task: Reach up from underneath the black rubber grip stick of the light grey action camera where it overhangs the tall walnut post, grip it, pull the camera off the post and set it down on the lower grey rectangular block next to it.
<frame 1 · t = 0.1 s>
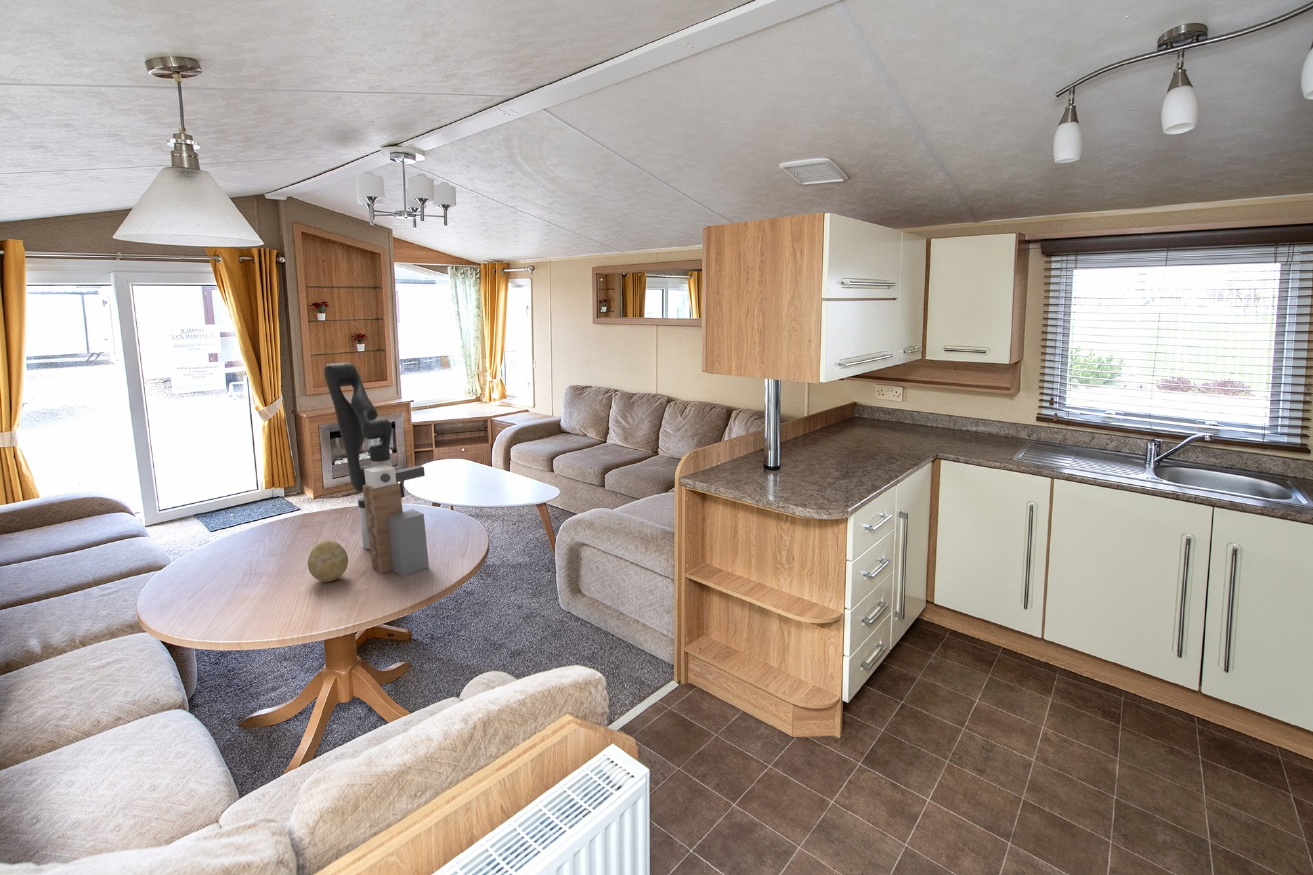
hand: (387, 511, 244), 17 cm above the table, fingers open, 8 cm apart
action camera: (381, 484, 228), point 32 cm above the table, touching walnut post
grey rectangular block: (410, 568, 233), on the table
fossilized egg: (330, 580, 224), on the table
walnut post: (390, 566, 235), on the table
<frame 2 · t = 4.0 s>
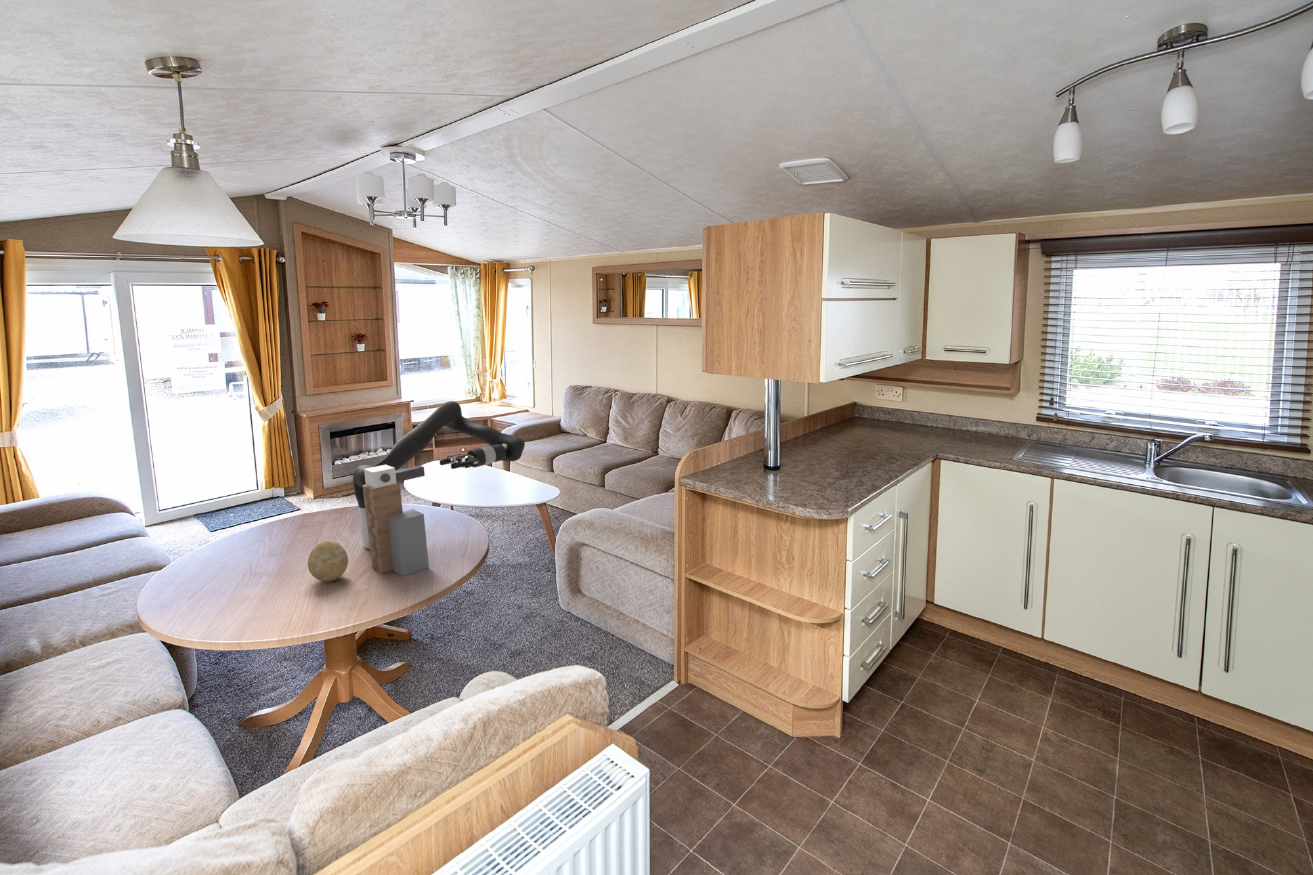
hand: (445, 464, 247), 34 cm above the table, fingers open, 8 cm apart
nothing on the table moved.
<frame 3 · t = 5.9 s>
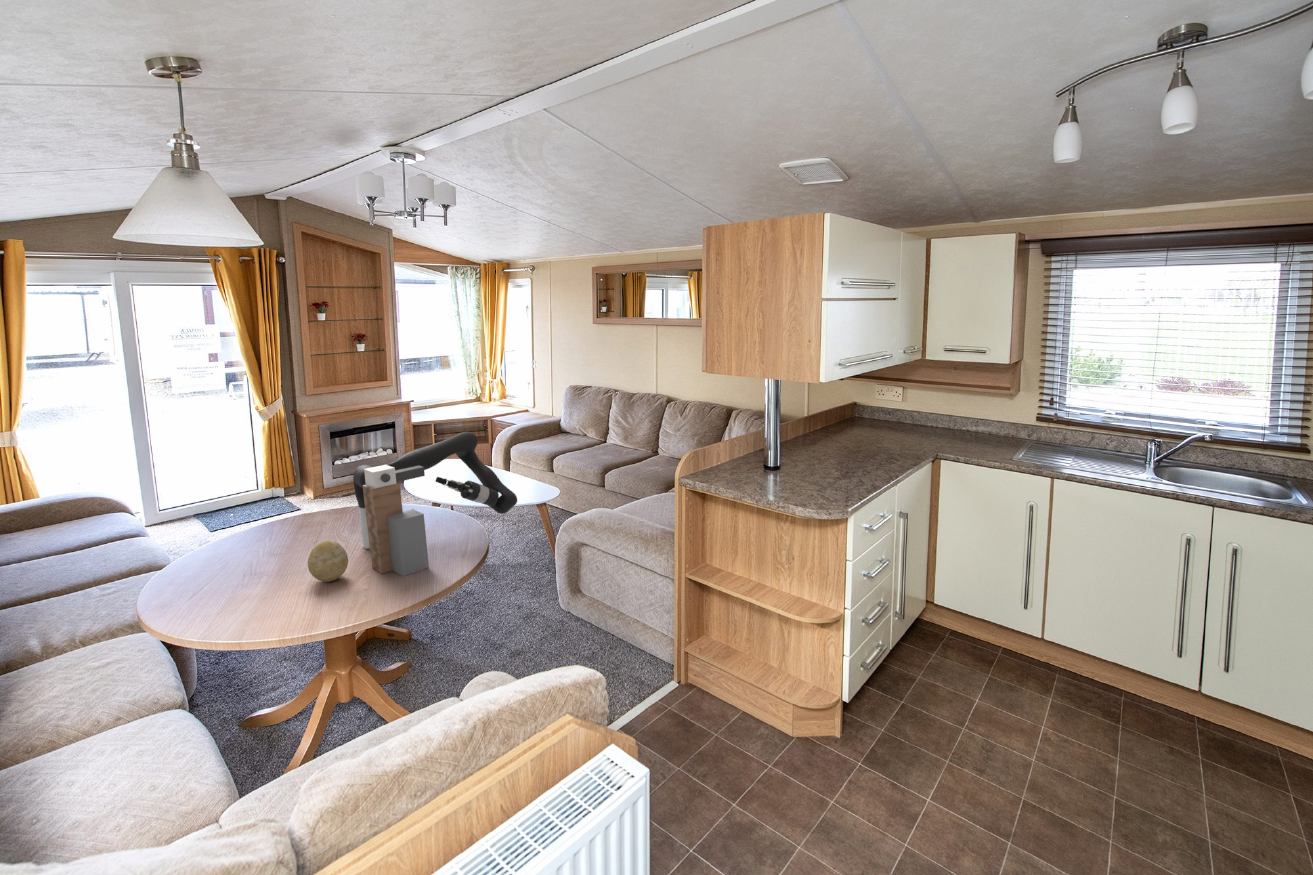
hand: (442, 481, 247), 28 cm above the table, fingers open, 8 cm apart
nothing on the table moved.
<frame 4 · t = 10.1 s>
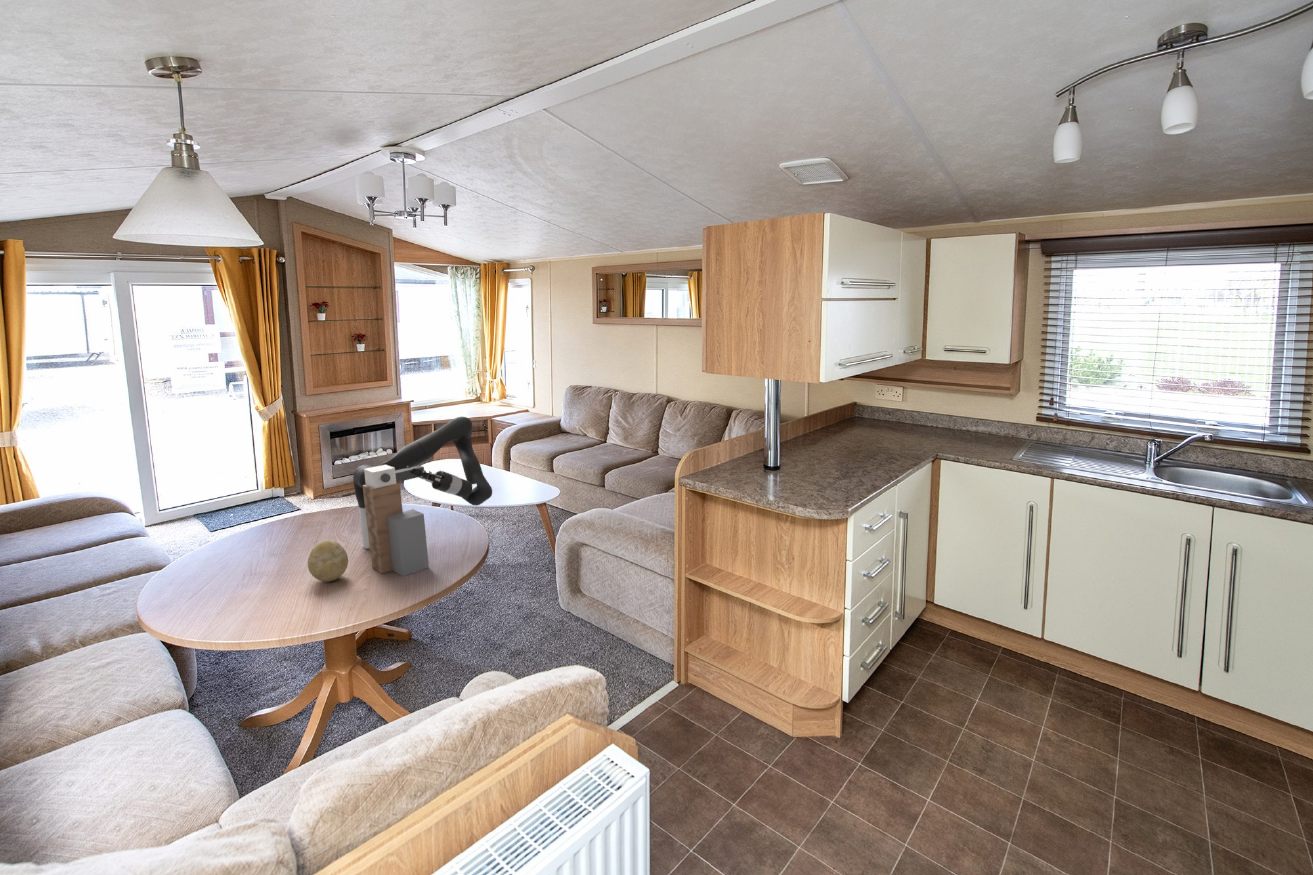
hand: (409, 469, 236), 35 cm above the table, fingers closed on action camera, 3 cm apart
action camera: (381, 484, 228), point 32 cm above the table, touching gripper, walnut post
everything else where it was.
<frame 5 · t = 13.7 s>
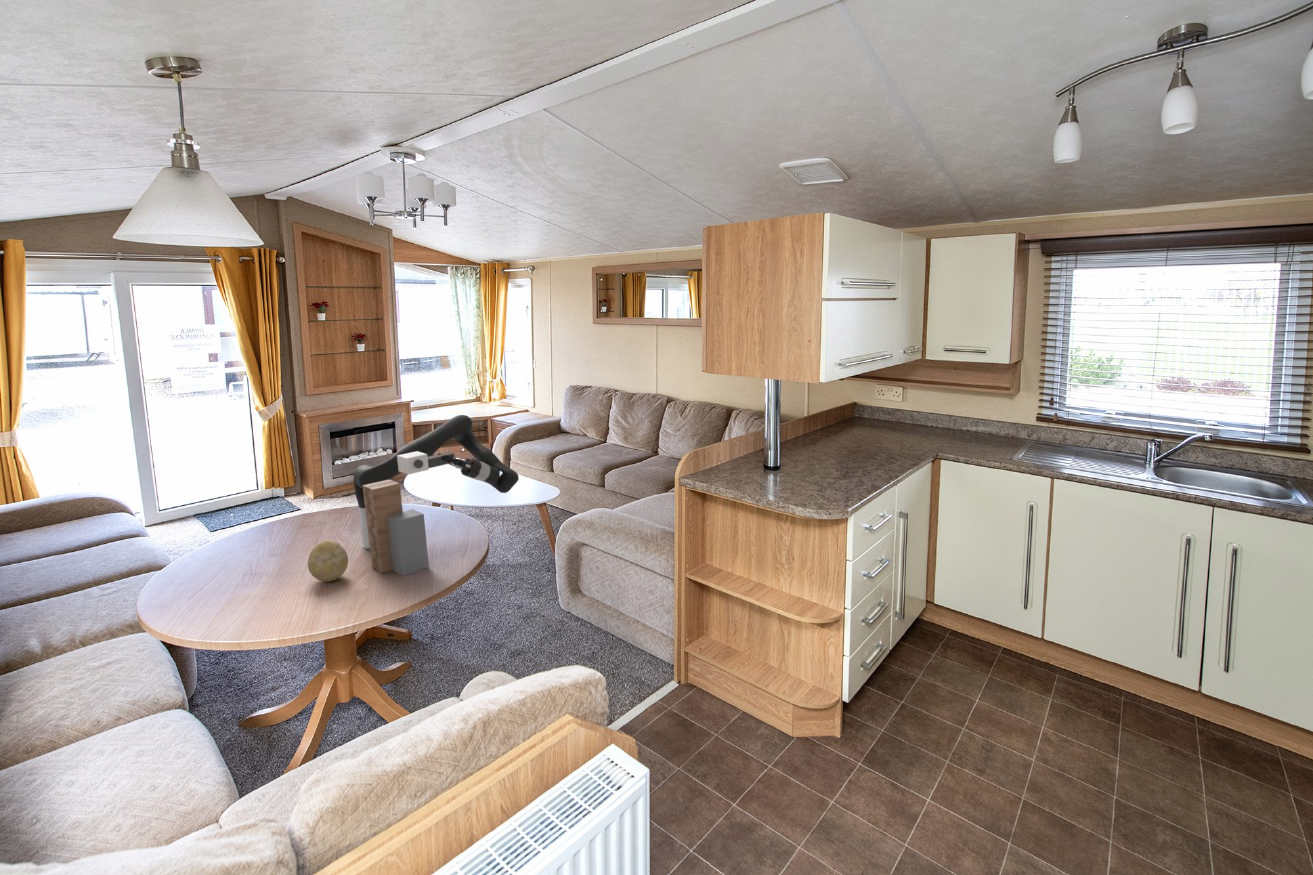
hand: (440, 456, 239), 39 cm above the table, fingers closed on action camera, 3 cm apart
action camera: (413, 470, 232), point 36 cm above the table, touching gripper
everything else where it was.
when the fingers open (25 cm above the table, at t = 17.5 s): action camera drops 1 cm, resting on grey rectangular block.
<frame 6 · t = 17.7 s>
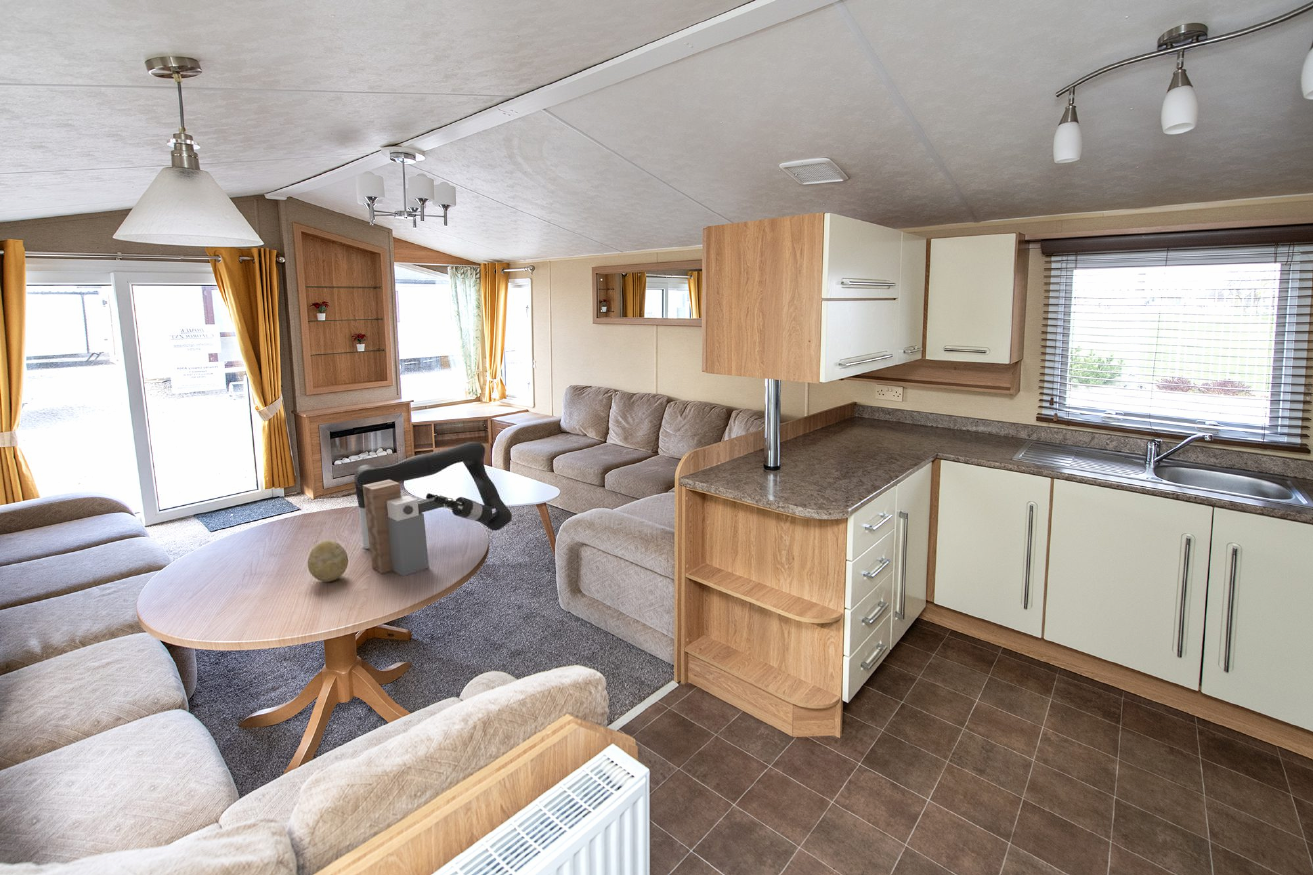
hand: (431, 497, 235), 25 cm above the table, fingers open, 5 cm apart
action camera: (403, 515, 227), point 21 cm above the table, touching grey rectangular block
everything else where it was.
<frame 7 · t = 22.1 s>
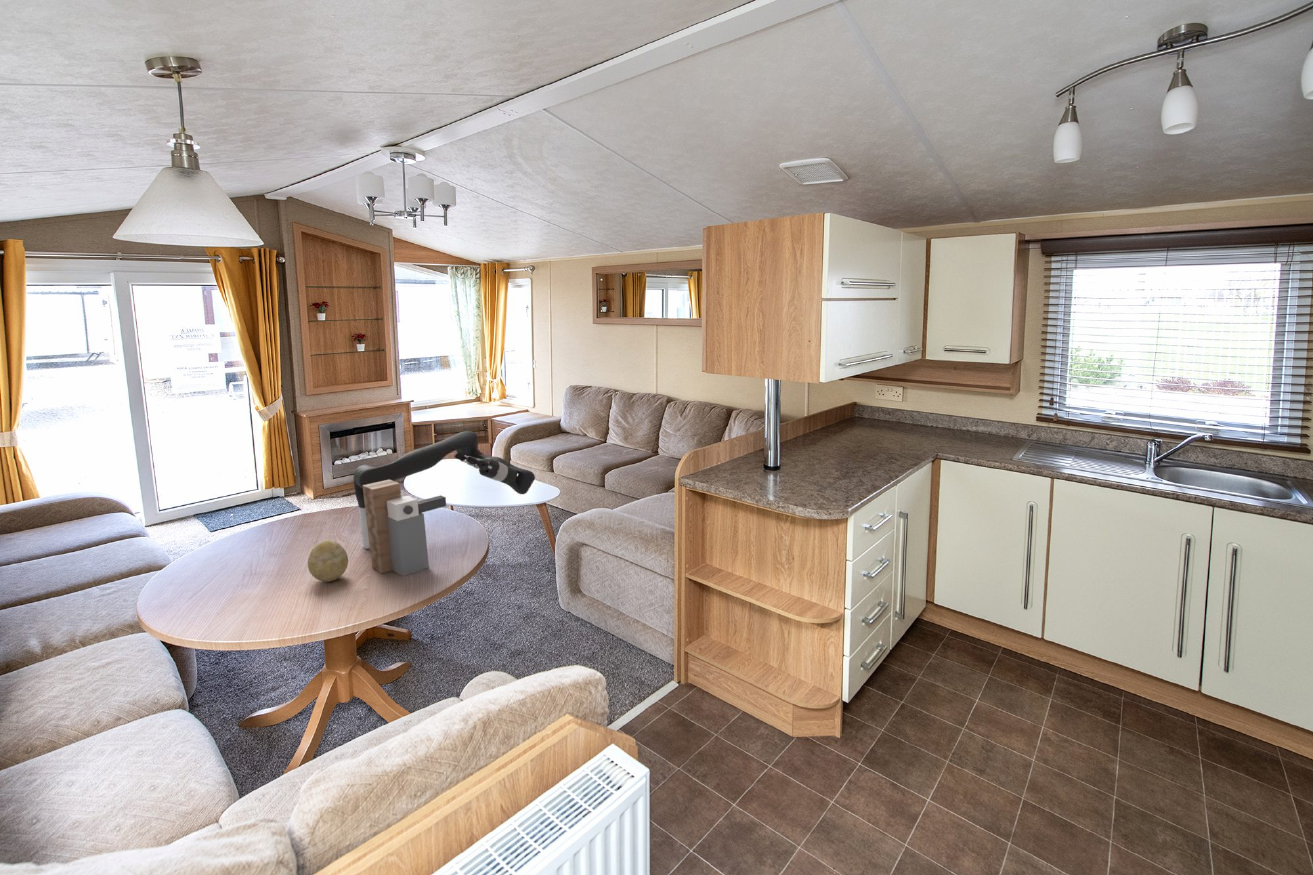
hand: (461, 456, 242), 38 cm above the table, fingers open, 8 cm apart
nothing on the table moved.
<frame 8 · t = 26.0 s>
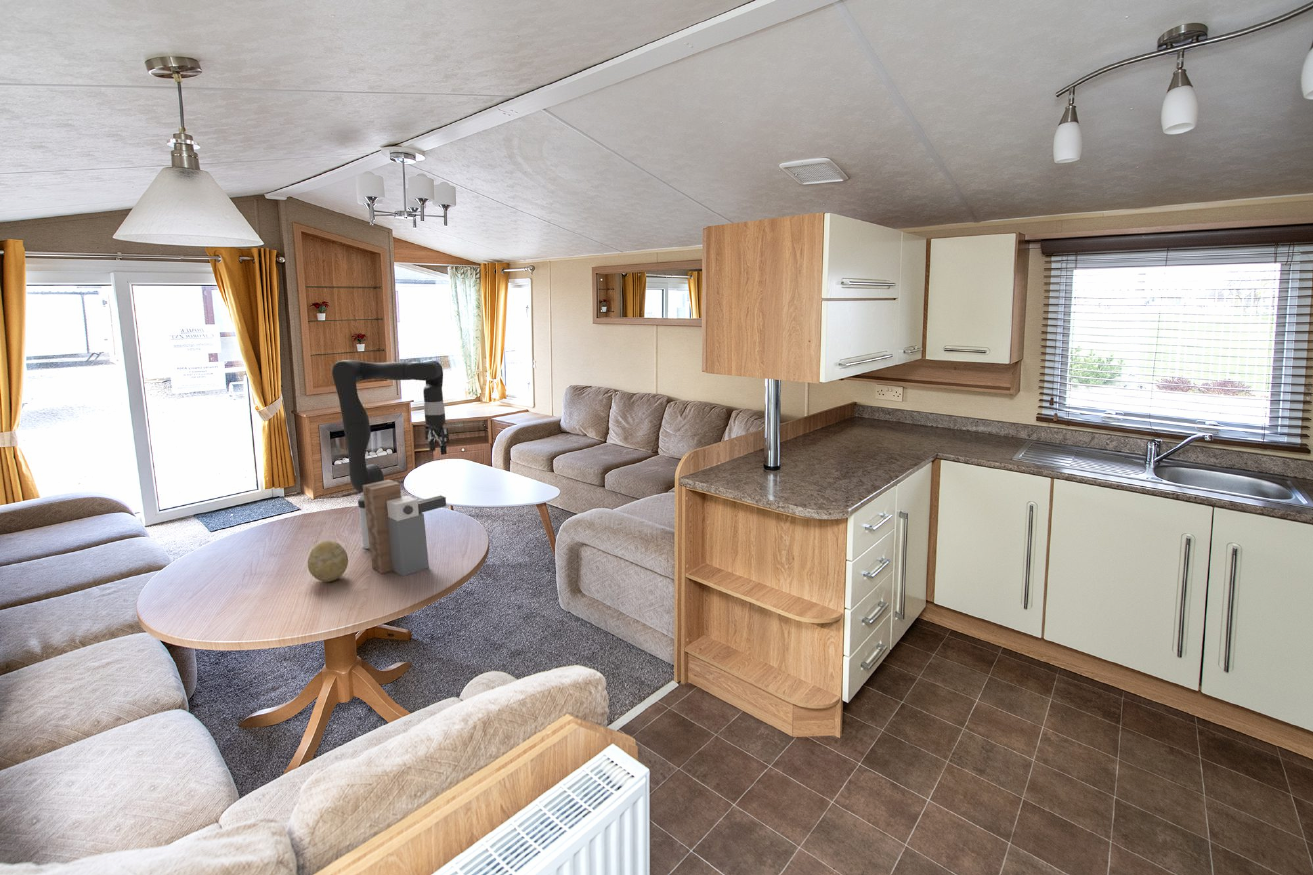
hand: (438, 452, 249), 38 cm above the table, fingers open, 8 cm apart
nothing on the table moved.
at the end: action camera inside the target area (0.9 cm from its centre), point 21.0 cm above the table; action camera touching grey rectangular block; the gripper is holding nothing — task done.
